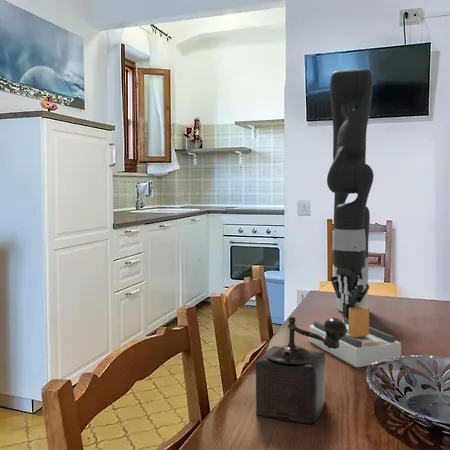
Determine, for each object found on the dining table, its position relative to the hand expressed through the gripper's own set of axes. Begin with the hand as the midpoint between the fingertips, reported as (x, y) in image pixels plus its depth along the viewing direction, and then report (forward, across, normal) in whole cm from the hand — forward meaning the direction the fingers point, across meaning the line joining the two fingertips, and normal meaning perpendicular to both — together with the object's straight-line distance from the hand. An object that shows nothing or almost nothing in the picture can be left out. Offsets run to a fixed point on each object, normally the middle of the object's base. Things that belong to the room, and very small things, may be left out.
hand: (348, 318), depth 120 cm
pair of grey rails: (+3, +2, 0) cm, 4 cm away
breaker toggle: (+3, +4, 0) cm, 5 cm away
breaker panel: (+7, +2, 0) cm, 8 cm away
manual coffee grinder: (+7, +26, -27) cm, 38 cm away
